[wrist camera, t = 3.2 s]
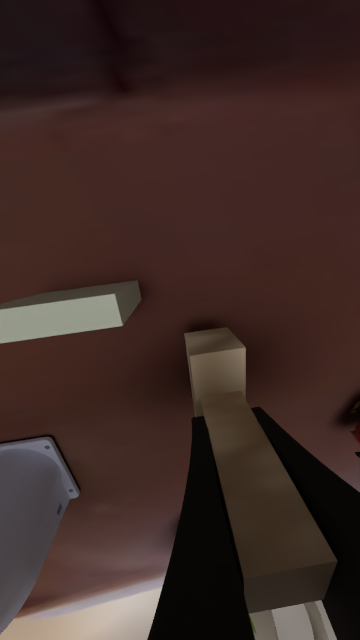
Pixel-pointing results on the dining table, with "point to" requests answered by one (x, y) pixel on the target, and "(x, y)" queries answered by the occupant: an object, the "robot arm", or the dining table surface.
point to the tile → (68, 311)
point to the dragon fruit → (359, 432)
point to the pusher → (255, 484)
